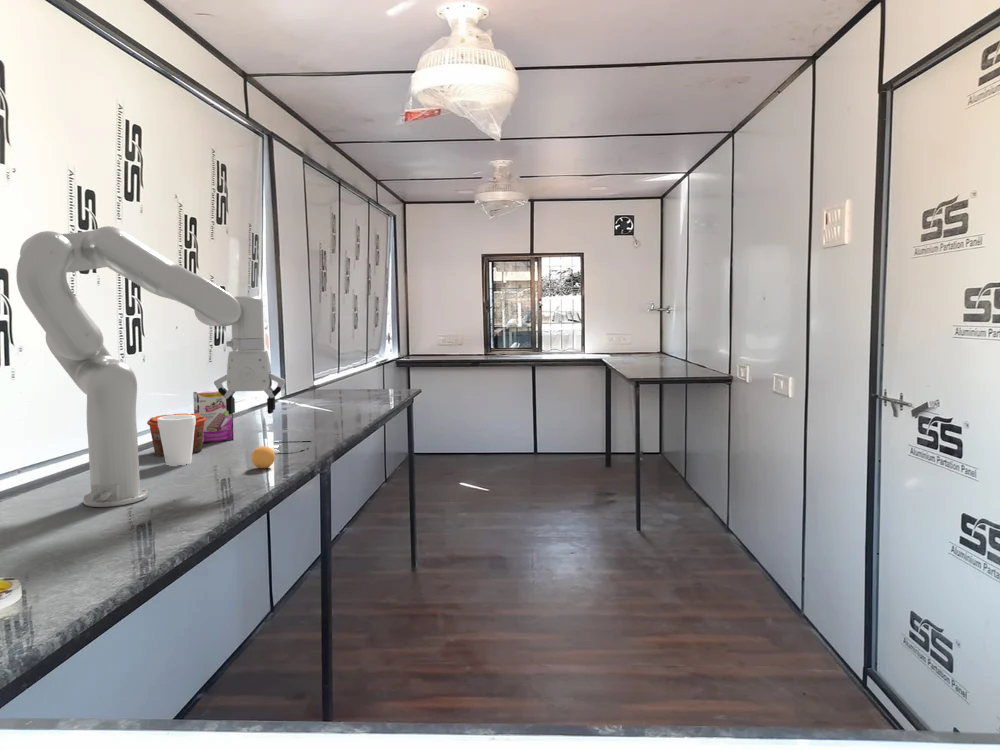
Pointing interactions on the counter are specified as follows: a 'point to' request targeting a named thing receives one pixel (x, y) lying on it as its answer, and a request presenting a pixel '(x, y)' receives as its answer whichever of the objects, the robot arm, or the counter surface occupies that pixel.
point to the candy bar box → (214, 416)
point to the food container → (197, 433)
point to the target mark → (275, 449)
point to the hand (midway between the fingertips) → (251, 413)
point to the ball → (263, 457)
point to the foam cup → (177, 438)
